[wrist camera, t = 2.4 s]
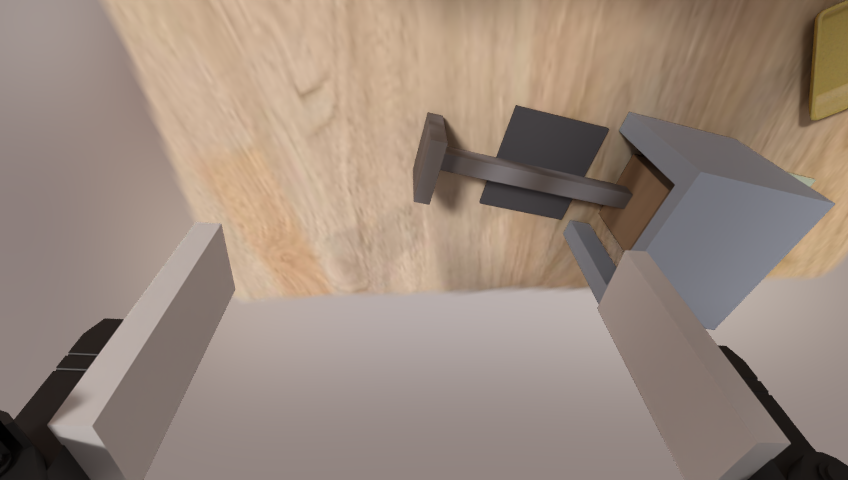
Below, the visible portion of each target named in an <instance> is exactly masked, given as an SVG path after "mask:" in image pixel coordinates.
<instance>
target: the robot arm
mask: <svg viewBox="0 0 848 480" xmlns="http://www.w3.org/2000/svg"><path fill="white" fill-rule="evenodd" d="M234 291H235V285H234V281H233V276H232V271H231V267H230V262H229V257H228V253H227V248H226V243H225V238H224V234H223V229H222V224H220V223H205V222H195V223H194V225H193V226H192V228H191V229H190V230H189V232H188V233H187V234H186V236H185V237H184V239H183V240H182V241H181V243H180V244H179V245H178V247H177V248H176V249H175V251H174V252H173V253H172V255H171V256H170V258H169V259H168V260H167V262H166V263H165V264H164V266H163V267H162V269H161V270H160V271H159V273H158V274H157V275H156V277H155V278H154V280H153V281H152V282H151V284H150V285H149V287H148V288H147V289H146V290H145V292H144V293H143V294H142V296H141V297H140V299H139V300H138V301H137V303H136V304H135V305H134V307H133V308H132V310H131V311H130V312H129V314H128V315H127V316H126V318H125V319H103V320H102V321H101V322H99V323H98V324H97V325H95V326H94V327H92V328H91V329H89V330H88V331H87V332H85V333H84V334H83V335H82V336H81V337H80V339H79V340H78V341H77V342H76V343H75V345H74V346H73V347H72V348H71V350H70V351H69V354H68V356H65V357H64V358H63V360H62V361H61V362H60V363H59V365H58V366H57V369H56V371H53V372H52V373H51V374H50V376H49V377H48V378H47V379H46V381H45V382H44V383H43V384H42V386H41V387H40V388H39V389H38V391H37V392H36V393H35V394H34V396H33V397H32V398H31V399H30V401H29V402H28V403H27V404H26V406H25V407H24V408H23V409H22V410H21V412H20V413H19V414H18V415H17V417H16V418H15V419H14V420H13V418H12V417H11V416H10V415H9V414H8V413H7V412H4V411H1V410H0V480H144V478H145V476H146V474H147V472H148V470H149V467H150V465H151V463H152V461H153V459H154V457H155V455H156V453H157V451H158V449H159V447H160V445H161V443H162V440H163V438H164V436H165V434H166V432H167V430H168V428H169V426H170V424H171V422H172V420H173V418H174V416H175V414H176V412H177V409H178V407H179V405H180V403H181V401H182V399H183V397H184V395H185V393H186V391H187V389H188V386H189V384H190V382H191V380H192V378H193V376H194V374H195V372H196V370H197V368H198V365H199V364H200V362H201V359H202V358H203V355H204V353H205V351H206V349H207V347H208V345H209V343H210V341H211V339H212V337H213V335H214V333H215V330H216V328H217V326H218V324H219V322H220V320H221V318H222V316H223V314H224V312H225V310H226V307H227V306H228V303H229V301H230V299H231V297H232V295H233V293H234ZM598 311H599V313H600V315H601V317H602V319H603V321H604V323H605V325H606V327H607V329H608V330H609V333H610V335H611V337H612V339H613V341H614V343H615V344H616V347H617V348H618V350H619V353H620V354H621V356H622V358H623V360H624V362H625V364H626V366H627V368H628V370H629V372H630V374H631V376H632V378H633V380H634V382H635V384H636V386H637V388H638V390H639V392H640V394H641V396H642V398H643V400H644V402H645V404H646V406H647V408H648V410H649V412H650V414H651V416H652V418H653V420H654V422H655V423H656V426H657V427H658V430H659V432H660V434H661V435H662V437H663V439H664V441H665V443H666V445H667V447H668V449H669V451H670V453H671V455H672V457H673V459H674V461H675V463H676V465H677V467H678V469H679V471H680V473H681V475H682V477H683V479H684V480H848V466H847V465H846V464H844V463H843V462H841V461H840V460H838V459H837V458H834V457H832V456H830V455H827V454H825V453H822V452H816V451H815V449H814V448H813V447H812V446H811V445H810V444H809V442H808V441H807V440H806V439H805V437H804V436H803V435H802V433H801V432H800V431H799V430H798V428H797V427H796V426H795V425H794V423H793V422H792V421H791V420H790V418H789V417H788V416H787V414H786V413H785V412H784V411H783V409H782V408H781V407H780V406H779V404H778V403H777V402H776V401H775V400H774V398H773V397H772V395H769V394H768V390H767V389H766V388H765V387H764V385H763V384H762V383H761V381H758V380H757V376H756V375H755V374H754V373H753V372H752V370H751V369H750V368H749V366H748V365H747V364H746V362H744V360H743V359H741V358H740V357H739V356H738V355H736V354H735V353H734V352H733V351H732V350H730V349H729V348H728V347H727V346H718V345H717V344H716V343H715V342H714V340H713V339H712V338H711V336H710V335H709V334H708V332H707V331H706V330H705V328H704V327H703V326H702V324H701V323H700V322H699V320H698V319H697V318H696V316H695V315H694V314H693V312H692V311H691V310H690V308H689V307H688V306H687V304H686V303H685V302H684V300H683V299H682V298H681V296H680V295H679V294H678V292H677V291H676V290H675V288H674V287H673V286H672V284H671V283H670V282H669V280H668V279H667V278H666V276H665V275H664V274H663V272H662V271H661V270H660V268H659V267H658V266H657V264H656V263H655V262H654V260H653V259H652V258H651V256H650V255H649V254H648V252H647V251H631V250H625V252H624V254H623V256H622V258H621V260H620V262H619V264H618V266H617V268H616V270H615V272H614V274H613V276H612V279H611V281H610V283H609V285H608V287H607V289H606V291H605V293H604V295H603V297H602V299H601V301H600V303H599V306H598Z"/></svg>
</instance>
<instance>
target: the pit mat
mask: <svg viewBox="0 0 848 480" xmlns="http://www.w3.org/2000/svg"><path fill="white" fill-rule="evenodd" d="M608 130H609V128H606V127H602V126H598V125H594V124H590V123H586V122H582V121H578V120H574V119H570V118H566V117H562V116H558V115H553V114H549V113H545V112H541V111H537V110H533V109H529V108H525V107H521V106H517V105H516V106H515V109H514V112H513V114H512V117H511V120H510V122H509V125H508V128H507V130H506V133H505V135H504V138H503V141H502V143H501V146H500V149H499V151H498V154H497V157H496V158H501V159H505V160H510V161H514V162H519V163H523V164H528V165H532V166H537V167H541V168H546V169H550V170H555V171H559V172H564V173H568V174H573V175H577V176H582V177H584V176H585V174H586V172H587V170H588V168H589V166H590V164H591V163H592V161H593V159H594V157H595V155H596V153H597V151H598V149H599V147H600V146H601V144H602V142H603V140H604V138H605V136H606V134H607V132H608ZM572 199H573V198H570V197H565V196H560V195H555V194H551V193H546V192H541V191H537V190H532V189H527V188H523V187H518V186H513V185H508V184H504V183H499V182H494V181H490V180H487V183H486V185H485V188H484V191H483V193H482V196H481V199H480V201H479V202H480V203H481V204H486V205H491V206H496V207H501V208H506V209H511V210H516V211H521V212H526V213H531V214H536V215H541V216H546V217H551V218H556V219H562V217H563V216H564V214H565V212H566V210H567V208H568V206H569V204H570V202H571V200H572Z"/></svg>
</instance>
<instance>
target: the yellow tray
mask: <svg viewBox="0 0 848 480" xmlns="http://www.w3.org/2000/svg"><path fill="white" fill-rule="evenodd" d="M846 109H848V0H845V1H843V2H841V3H838V4H836V5H834V6H832V7H830V8H827V9H825V10H823V11H821V12H820V13H819V14H818V15H817V16H816V18H815V28H814V42H813V55H812V69H811V82H810V94H809V114H810V119H811V120H812V121H817V120H820V119H823V118H825V117H828V116H830V115H833V114H835V113H838V112H840V111H843V110H846Z"/></svg>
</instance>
